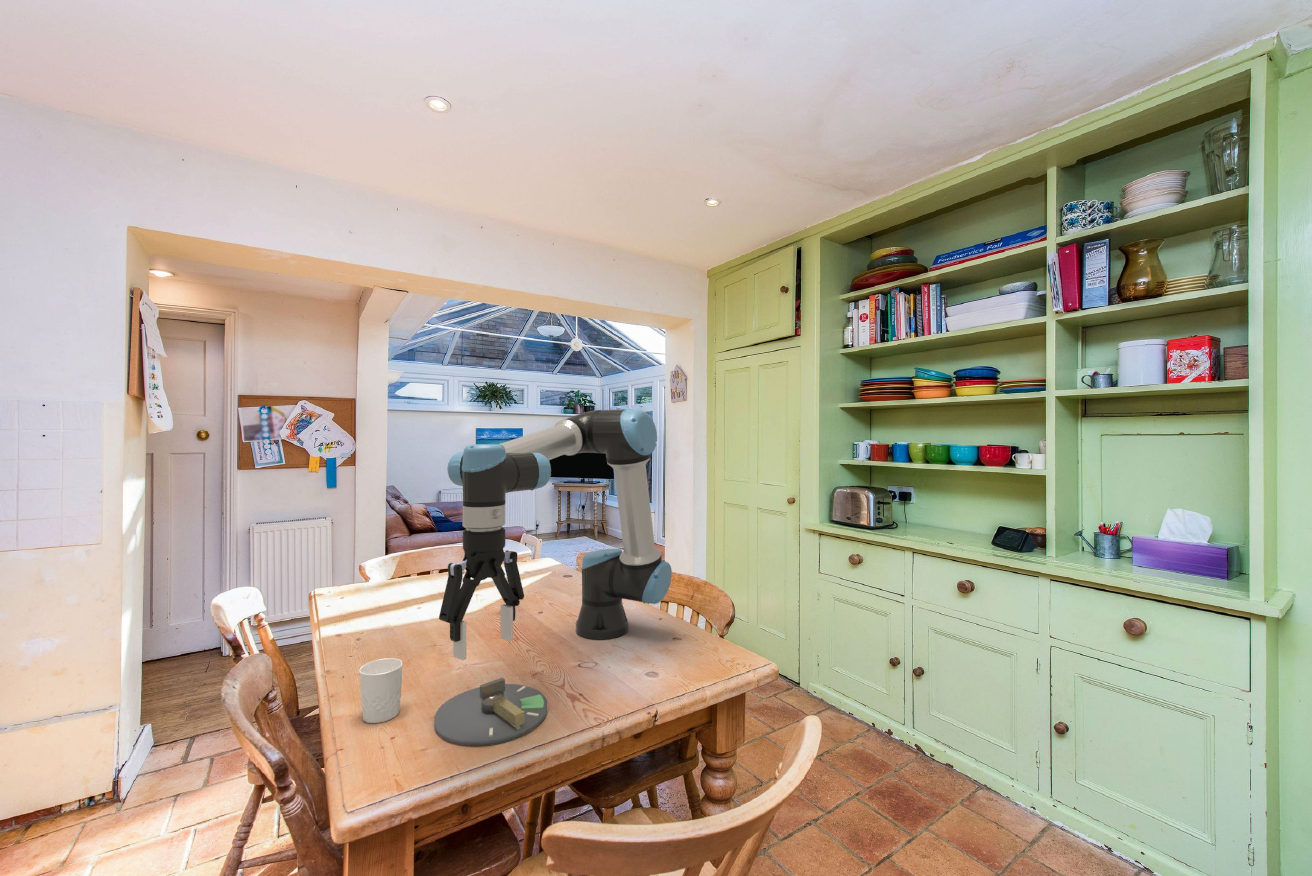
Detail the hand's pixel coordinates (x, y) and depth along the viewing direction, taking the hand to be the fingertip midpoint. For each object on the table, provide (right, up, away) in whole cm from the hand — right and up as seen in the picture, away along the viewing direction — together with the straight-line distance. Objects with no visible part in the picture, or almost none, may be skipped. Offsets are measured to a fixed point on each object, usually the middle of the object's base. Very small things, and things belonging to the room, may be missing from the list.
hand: (484, 648), depth 100 cm
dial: (-1, -18, +10) cm, 20 cm away
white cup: (-24, -18, +10) cm, 32 cm away
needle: (+1, -16, +7) cm, 18 cm away
